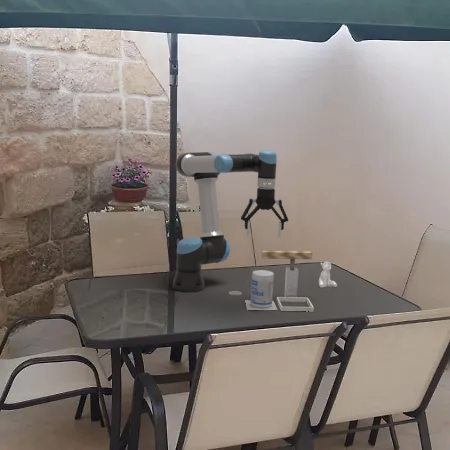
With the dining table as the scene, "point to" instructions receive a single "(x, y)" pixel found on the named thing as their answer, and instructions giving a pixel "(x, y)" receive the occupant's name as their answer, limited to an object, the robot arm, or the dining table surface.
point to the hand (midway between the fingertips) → (263, 236)
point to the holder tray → (295, 299)
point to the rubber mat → (250, 307)
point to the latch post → (291, 282)
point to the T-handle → (287, 255)
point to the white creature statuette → (326, 276)
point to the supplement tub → (262, 288)
